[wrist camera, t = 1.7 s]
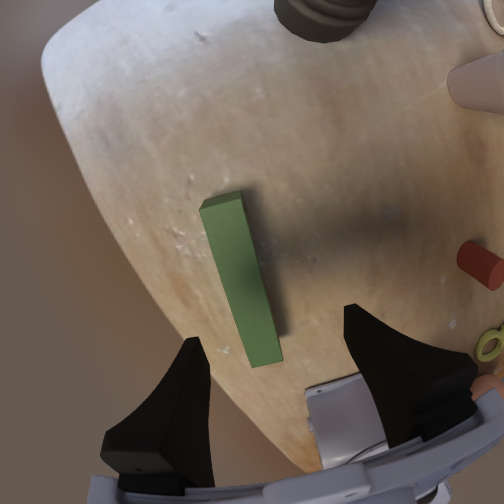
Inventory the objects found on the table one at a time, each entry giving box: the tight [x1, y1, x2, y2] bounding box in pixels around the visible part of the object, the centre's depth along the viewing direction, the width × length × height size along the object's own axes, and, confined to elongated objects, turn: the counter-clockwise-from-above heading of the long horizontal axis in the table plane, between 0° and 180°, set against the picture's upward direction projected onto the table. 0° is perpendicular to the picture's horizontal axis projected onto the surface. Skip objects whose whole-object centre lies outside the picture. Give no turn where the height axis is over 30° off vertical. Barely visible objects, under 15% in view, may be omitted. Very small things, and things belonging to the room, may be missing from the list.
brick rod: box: [457, 241, 504, 291], centre depth 20 cm, size 3×3×5 cm
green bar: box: [199, 191, 283, 368], centre depth 21 cm, size 13×3×3 cm, turn 14°
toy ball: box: [470, 374, 504, 401], centre depth 28 cm, size 8×8×8 cm
